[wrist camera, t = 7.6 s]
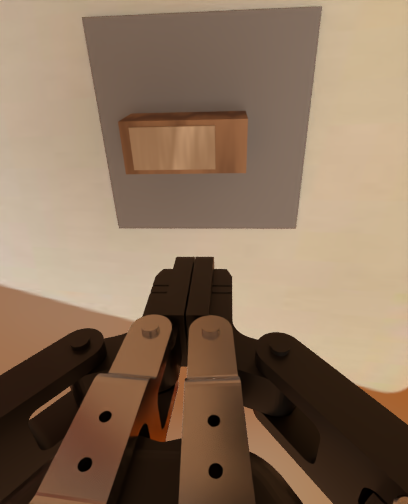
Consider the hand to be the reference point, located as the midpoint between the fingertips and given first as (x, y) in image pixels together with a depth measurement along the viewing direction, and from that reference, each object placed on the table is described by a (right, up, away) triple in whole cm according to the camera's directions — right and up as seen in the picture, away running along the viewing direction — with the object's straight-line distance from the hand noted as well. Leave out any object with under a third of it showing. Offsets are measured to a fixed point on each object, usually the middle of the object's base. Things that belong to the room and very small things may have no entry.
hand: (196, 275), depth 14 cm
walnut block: (+5, +12, +20) cm, 24 cm away
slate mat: (0, +14, +23) cm, 27 cm away
